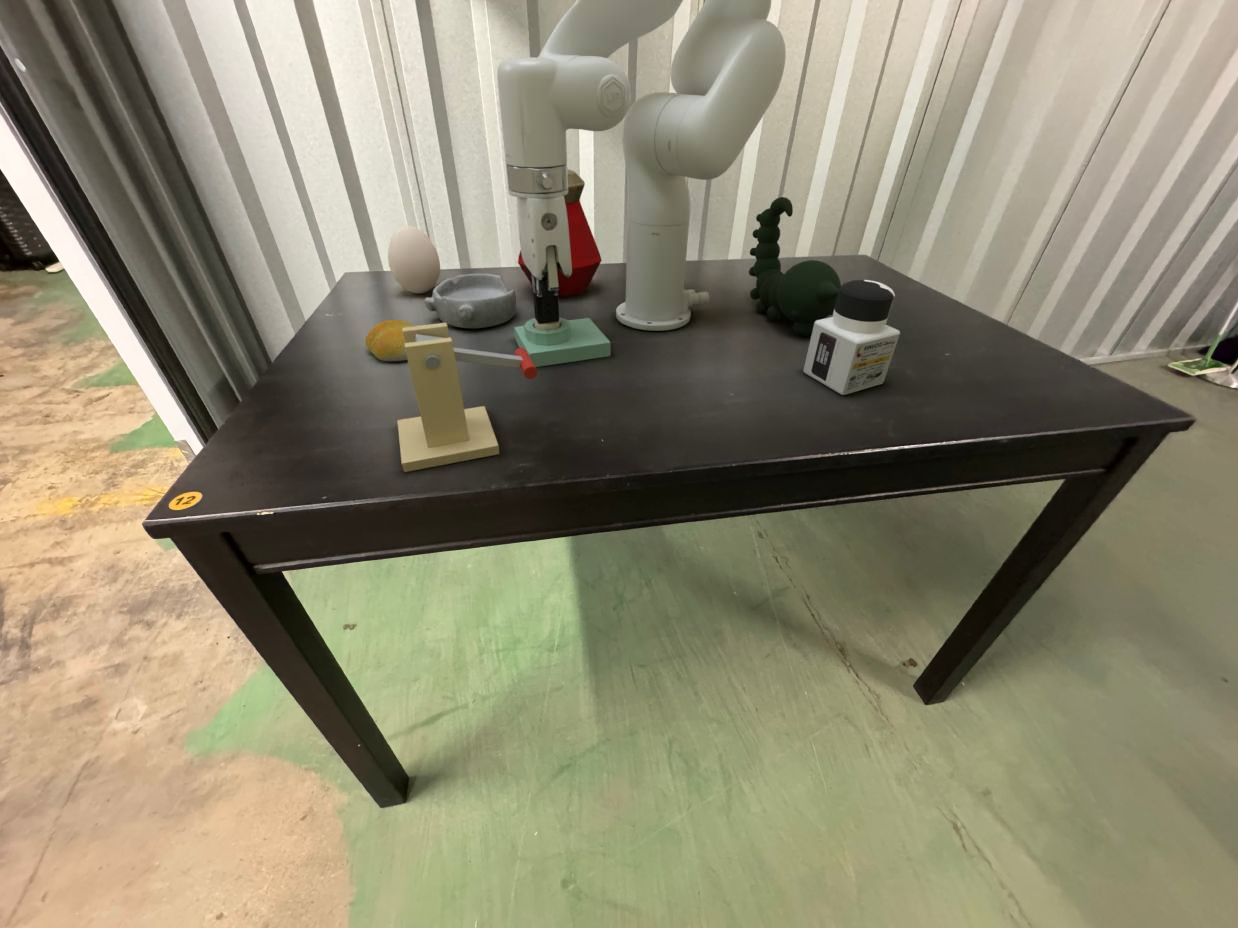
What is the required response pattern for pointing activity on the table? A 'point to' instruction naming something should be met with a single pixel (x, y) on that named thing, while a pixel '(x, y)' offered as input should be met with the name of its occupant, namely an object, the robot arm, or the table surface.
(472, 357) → the lever
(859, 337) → the container
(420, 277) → the egg
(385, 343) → the bread roll
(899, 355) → the table surface
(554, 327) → the button
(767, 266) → the segmented green worm
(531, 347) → the button panel
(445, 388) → the bracket
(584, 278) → the bottle
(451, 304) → the dish
